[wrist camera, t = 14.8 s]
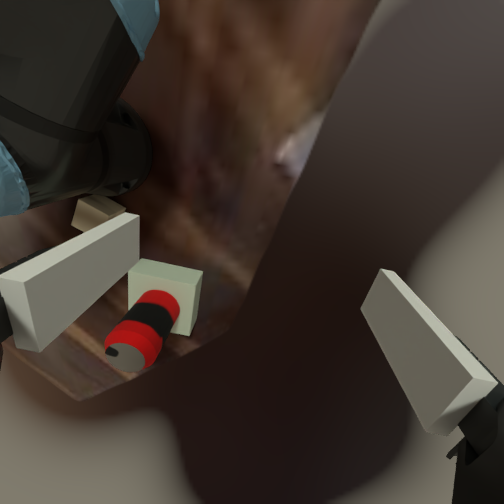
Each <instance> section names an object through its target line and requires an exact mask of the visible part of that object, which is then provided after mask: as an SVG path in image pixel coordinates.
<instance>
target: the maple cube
mask: <svg viewBox="0 0 504 504" xmlns="http://www.w3.org/2000/svg"><path fill="white" fill-rule="evenodd" d="M125 210H126V208H125V207H123V206H121V205H120V204H118V203H116V202H114V201H113V200H111V199H109V198H107V197H105V196H101V195H95V194H94V195H90V196H87V197H84V198H81V199H78V203H77V206H76V210H75V213H74V217H73V220H72V224H71V225H72V226H74V227H75V228H77V229H79V230H81V231H83V232H87V231H89V230H91V229H93V228H95V227H97V226H99V225H101V224H103V223H105V222H107V221H109V220H111V219H113V218H115V217H117V216H119V215H121V214H123V213H124V212H125Z"/></svg>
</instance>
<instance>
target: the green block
mask: <svg viewBox="0 0 504 504" xmlns="http://www.w3.org/2000/svg"><path fill="white" fill-rule="evenodd" d="M202 276H203V271H199V270H194V269H189V268H185V267H180V266H175V265H171V264H166V263H162V262H157V261H152V260H148V259H143V258H142V259H140V260H139V262H138V263H136V264H135V265H134V266H133V267H132V268H131V269H130V270H129V271H128V305H129V310H130V309H131V307H132V306H133V305H134V304H135V303H136V302H137V300H138V299H139V298H140V297H141V296H142V294H144V293H145V292H147V291H149V290H162V291H165V292H168V293H169V294H171V295H172V296H173V297H174V298H175V299H176V300H177V302H178V304H179V306H180V313H179V316H178V318H177V320H176V322H175V324H174V325H173V327H172V329H171V331H170V332H172V333H177V334H181V335H186V336H190V334H191V331H192V329H193V326H194V324H195V321H196V319H197V312H198V305H199V297H200V290H201V283H202Z"/></svg>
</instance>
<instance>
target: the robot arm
mask: <svg viewBox="0 0 504 504" xmlns="http://www.w3.org/2000/svg"><path fill="white" fill-rule="evenodd" d="M159 16H160V9H159V3H158V0H0V217H2V216H7V215H18V214H21V213H24V211H26V210H29V209H32V208H35V207H39V206H42V205H46V204H49V203H52V202H56V201H59V200H63V199H66V198H69V197H73V196H76V195H80V194H83V193H89V194H95V195H101V196H118V195H122V194H125V193H128V192H130V191H132V190H134V189H136V188H138V187H139V186H140V185H141V184H142V183H143V182H144V181H145V179H146V178H147V176H148V174H149V171H150V168H151V164H152V145H151V140H150V136H149V134H148V131H147V129H146V127H145V125H144V123H143V121H142V119H141V118H140V116H139V115H138V114H137V112H136V111H135V110H134V109H133V108H132V107H131V106H130V105H129V104H128V103H127V102H125V101H124V100H123V99H121V98H120V95H121V94H122V92H123V90H124V88H125V86H126V85H127V83H128V81H129V79H130V78H131V76H132V74H133V72H134V71H135V69H136V67H137V65H138V64H139V62H140V61H143V59H144V51H145V49H146V47H147V45H148V43H149V41H150V39H151V37H152V35H153V33H154V31H155V29H156V27H157V24H158V21H159ZM139 226H140V216H139V215H135V214H130V213H126V212H125V213H123V214H121V215H119V216H117V217H115V218H113V219H111V220H109V221H107V222H105V223H103V224H101V225H99V226H97V227H95V228H93V229H91V230H89V231H87V232H85V233H83V234H81V235H79V236H77V237H75V238H73V239H71V240H69V241H67V242H65V243H63V244H61V245H59V246H54V247H50V248H46V249H42V250H39V251H37V252H35V253H33V254H31V255H29V256H28V257H24V258H22V259H20V260H18V261H17V263H15V262H14V263H12V264H10V265H8V266H6V267H4V268H1V269H0V369H1V362H2V355H3V348H2V344H1V343H2V342H3V341H4V340H5V339H7V338H8V337H9V336H11V335H12V334H13V338H14V341H15V345H16V348H20V349H24V350H29V351H34V352H39V353H40V352H41V351H42V350H43V349H44V348H45V347H46V346H47V345H49V344H50V343H51V342H52V341H53V340H54V339H55V338H56V337H57V336H58V335H59V334H61V333H62V332H63V331H64V330H65V329H66V328H67V327H68V326H69V325H70V324H71V323H72V322H74V321H75V320H76V319H77V318H78V317H79V316H80V315H81V314H82V313H83V312H84V311H85V310H87V309H88V308H89V307H90V306H91V305H92V304H93V303H94V302H95V301H96V300H97V299H99V298H100V297H101V296H102V295H103V294H104V293H105V292H106V291H107V290H108V289H109V288H110V287H112V286H113V285H114V284H115V283H116V282H117V281H118V280H119V279H120V278H121V277H122V276H123V275H125V274H126V273H127V272H128V271H129V270H130V269H131V268H132V267H133V266H134V265H135V264H136V263H138V262H139ZM361 311H362V313H363V315H364V317H365V318H366V320H367V322H368V324H369V326H370V328H371V330H372V331H373V333H374V335H375V337H376V339H377V341H378V343H379V345H380V347H381V349H382V351H383V352H384V354H385V356H386V358H387V360H388V362H389V364H390V366H391V368H392V369H393V371H394V373H395V375H396V377H397V379H398V381H399V383H400V385H401V386H402V388H403V390H404V392H405V394H406V396H407V398H408V400H409V402H410V403H411V405H412V407H413V409H414V411H415V413H416V415H417V416H418V419H419V420H420V422H421V424H422V426H423V428H424V430H425V432H429V433H434V434H438V435H443V436H448V435H449V434H450V433H451V432H452V431H453V430H454V429H455V428H456V426H459V428H460V429H461V431H462V432H463V434H464V435H465V437H464V438H463V439H462V440H461V441H460V442H459V443H458V444H457V445H456V446H455V447H454V448H453V449H451V450H450V451H449V452H448V454H447V456H446V457H447V458H449V459H451V458H452V457H453V456H457V463H456V472H455V480H454V489H453V498H452V504H504V385H503V384H502V383H501V382H500V381H499V380H498V379H497V378H496V377H495V376H494V375H493V374H492V373H491V372H490V370H489V369H488V368H487V367H486V366H485V365H484V364H483V363H482V362H481V361H478V358H477V357H476V356H475V355H474V354H473V353H472V352H470V349H469V348H468V347H467V346H466V345H465V344H464V343H463V342H462V341H461V340H460V339H459V338H458V337H456V336H455V335H454V334H452V333H451V332H450V331H449V330H448V329H447V328H446V327H445V326H444V324H443V323H442V322H441V321H440V320H439V319H438V318H437V317H436V316H435V315H434V314H433V313H432V312H431V311H430V309H429V308H428V307H426V305H425V304H424V303H423V302H422V301H421V300H420V299H419V298H418V297H417V296H416V295H415V293H414V292H413V291H412V290H411V289H410V288H409V287H408V286H407V285H406V284H405V283H404V282H403V281H402V279H401V278H400V277H399V276H398V275H397V274H396V273H395V272H393V271H389V270H384V269H380V271H379V273H378V275H377V277H376V279H375V281H374V283H373V285H372V287H371V289H370V291H369V293H368V295H367V297H366V299H365V301H364V303H363V305H362V307H361Z"/></svg>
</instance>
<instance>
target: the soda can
mask: <svg viewBox="0 0 504 504" xmlns="http://www.w3.org/2000/svg"><path fill="white" fill-rule="evenodd" d="M179 313H180V306H179V304H178V302H177V300H176V299H175V298H174V297H173V296H172V295H171V294H169V293H168V292H165V291H162V290H149V291H147V292H145V293H144V294H142V296H141V297H140V298H139V299H138V300H137V302H136V303H135V304H134V305H133V306H132V307H131V309H130V310H129V311H128V312H127V313H126V315H125V316H124V317H123V318H122V319H121V321H120V322H119V323H118V324H117V325H116V327H115V328H114V329H113V330H112V331H111V333H110V334H109V335H108V336H107V338H106V340H105V356H106V359H107V360H108V362H109V363H110V364H111V365H112V366H113V367H115V368H116V369H118V370H121V371H124V372H130V373H132V372H138V371H140V370H142V369H144V368H147V367H149V366H150V365H152V364H153V363H154V361H155V360H156V358H157V356H158V354H159V352H160V350H161V348H162V346H163V344H164V342H165V341H166V339H167V337H168V335H169V333H170V331H171V329H172V327H173V325H174V324H175V322H176V320H177V318H178V316H179Z"/></svg>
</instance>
